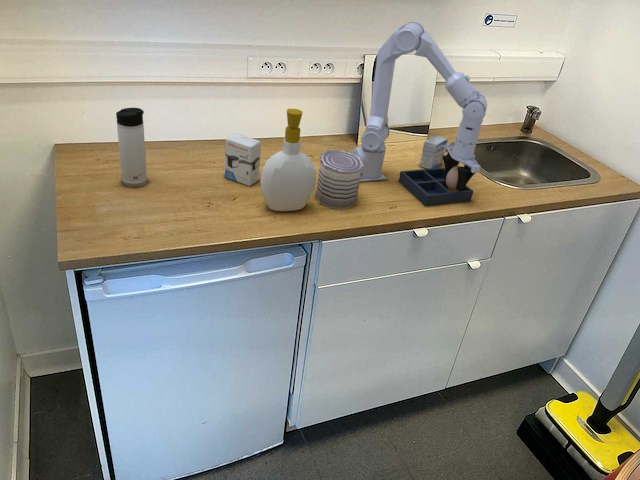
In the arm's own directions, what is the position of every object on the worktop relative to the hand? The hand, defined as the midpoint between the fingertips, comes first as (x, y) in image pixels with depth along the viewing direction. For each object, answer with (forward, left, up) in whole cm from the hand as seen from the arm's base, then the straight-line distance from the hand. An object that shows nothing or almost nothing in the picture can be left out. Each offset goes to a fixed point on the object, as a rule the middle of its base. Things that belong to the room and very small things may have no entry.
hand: (454, 184), depth 156 cm
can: (-35, +5, -4) cm, 35 cm away
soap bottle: (-50, +4, -4) cm, 50 cm away
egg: (0, 0, -2) cm, 2 cm away
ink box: (-57, +21, -4) cm, 60 cm away
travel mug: (-85, +24, -4) cm, 88 cm away
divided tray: (-4, +4, -4) cm, 6 cm away
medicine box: (+5, +20, -4) cm, 21 cm away
